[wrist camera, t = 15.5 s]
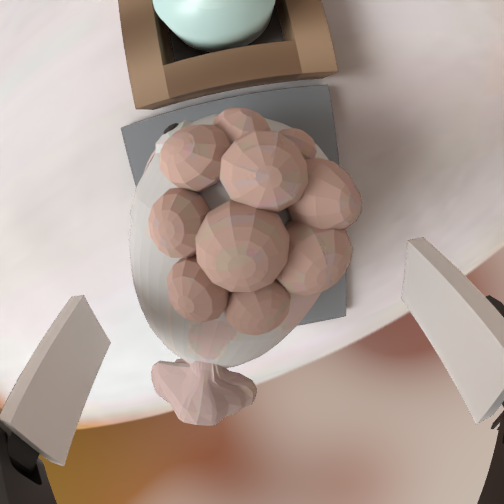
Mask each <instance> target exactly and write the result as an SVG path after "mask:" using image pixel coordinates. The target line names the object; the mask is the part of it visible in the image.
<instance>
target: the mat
mask: <svg viewBox="0 0 504 504" xmlns="http://www.w3.org/2000/svg"><path fill="white" fill-rule="evenodd" d="M230 107H241V108H248V109H251V110H253V111H255V112H257V113H259V114H260V115H261V116H262V117H263V118H267V119H270V120H273V121H277V122H280V123H283V124H285V125H287V126H289V127H291V128H297V129H301V130H303V131H304V132H306V133H307V134H308V135H309V136H311V137H312V139H313V140H314V143H315V144H317V145H318V146H319V148H320V149H321V150H322V152H323V153H324V154H325V155H326V157H327V158H328V159H329V161H333V162H335V163H336V164H337V165H339V158H338V149H337V141H336V134H335V126H334V119H333V113H332V106H331V100H330V94H329V89H328V85H318V86H306V87H296V88H287V89H279V90H272V91H265V92H258V93H252V94H246V95H241V96H235V97H230V98H225V99H220V100H216V101H211V102H207V103H202V104H198V105H194V106H190V107H186V108H183V109H179V110H175V111H172V112H168V113H165V114H161V115H158V116H155V117H151V118H148V119H145V120H142V121H139V122H136V123H133V124H130V125H127V126H124V127H122V128H121V131H122V135H123V139H124V143H125V147H126V151H127V155H128V159H129V163H130V167H131V171H132V174H133V178H134V181H135V185H136V187H137V185H138V183H139V181H140V179H141V178H142V176H143V173H144V170H145V167H146V165H147V162H148V160H149V158H150V156H151V154H152V153H153V152H154V150H155V149H156V142H157V141H158V140H159V139H160V137H161V136H162V135H163V133H164V130H165V129H166V128H167V127H168V126H169V125H172V124H174V123H178V124H179V123H181V122H183V121H185V120H186V121H191V122H193V121H196V120H199V119H201V118H204V117H207V116H210V115H213V114H220V113H221V112H223V111H224V110H226V109H228V108H230ZM344 316H346V271H345V273H344V274H343V276H342V277H341V278H340V280H339V281H338V282H337V283H336V284H334V285H333V286H332V287H330V288H329V289H327V290H325V291H322V293H321V294H320V296H319V297H318V299H317V300H316V302H315V303H314V305H313V306H312V308H311V309H310V310H309V312H308V313H307V314H306V315H305V317H304V318H303V319H302V320H301V322H300V323H299V324H298V325H303V324H309V323H314V322H320V321H325V320H330V319H335V318H339V317H344ZM298 325H297V326H298Z"/></svg>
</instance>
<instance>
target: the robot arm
mask: <svg viewBox="0 0 504 504" xmlns="http://www.w3.org/2000/svg"><path fill="white" fill-rule="evenodd" d="M401 299H402V300H403V301H404V303H405V304H406V306H407V307H408V309H409V310H410V312H411V313H412V315H413V316H414V318H415V319H416V321H417V322H418V324H419V325H420V327H421V328H422V330H423V331H424V333H425V335H426V336H427V338H428V339H429V341H430V343H431V344H432V346H433V347H434V349H435V351H436V352H437V354H438V356H439V357H440V359H441V361H442V362H443V364H444V366H445V368H446V369H447V371H448V373H449V374H450V376H451V378H452V380H453V382H454V383H455V385H456V387H457V389H458V391H459V392H460V394H461V396H462V398H463V400H464V402H465V404H466V406H467V408H468V410H469V412H470V414H471V416H472V418H473V420H474V422H475V424H476V425H477V424H478V423H480V422H482V421H483V420H485V419H487V418H488V417H490V416H492V415H493V414H494V413H495V412H496V411H497V409H498V408H499V407H500V406H501V404H502V405H503V406H504V305H503V304H502V303H501V302H500V301H498V300H496V299H495V298H493V297H491V296H490V295H489V296H486V297H485V296H484V295H483V294H482V293H481V292H480V291H479V290H478V289H477V288H476V287H475V286H474V285H473V284H472V283H471V281H470V280H469V279H468V278H466V276H465V275H464V274H463V273H462V272H461V271H459V270H458V269H457V268H456V267H455V266H454V265H453V264H452V263H451V262H450V261H449V260H448V259H447V258H446V257H445V256H444V255H443V254H442V253H440V252H439V251H438V250H437V249H436V248H435V247H434V246H433V245H432V244H431V243H429V242H428V241H427V240H426V239H425V238H424V237H422V238H417V239H412V240H407V253H406V263H405V273H404V281H403V289H402V296H401ZM110 343H111V342H110V340H109V339H108V337H107V335H106V334H105V332H104V331H103V329H102V327H101V325H100V324H99V322H98V320H97V318H96V317H95V315H94V313H93V311H92V310H91V308H90V306H89V304H88V302H87V300H86V298H85V297H84V295H81V296H74V297H71V298H70V299H69V301H68V302H67V304H66V305H65V306H64V308H63V309H62V311H61V312H60V313H59V315H58V316H57V318H56V319H55V321H54V322H53V324H52V325H51V327H50V328H49V330H48V331H47V333H46V334H45V336H44V337H43V339H42V340H41V342H40V344H39V345H38V347H37V348H36V350H35V352H34V353H33V355H32V356H31V358H30V360H29V361H28V363H27V365H26V367H25V368H24V370H23V371H22V373H21V375H20V376H19V378H18V380H17V382H16V384H15V385H14V387H13V389H12V392H11V393H10V395H9V397H8V399H7V401H6V403H5V405H4V407H3V409H2V411H1V413H0V504H57V503H56V500H55V498H54V495H53V492H52V489H51V486H50V484H49V481H48V478H47V474H46V471H45V467H44V464H43V462H42V461H41V460H40V459H39V458H38V456H39V454H41V455H42V456H43V457H45V458H46V459H47V460H49V461H51V462H53V463H56V464H59V465H62V466H64V464H65V461H66V458H67V454H68V451H69V448H70V445H71V442H72V439H73V436H74V433H75V430H76V427H77V425H78V422H79V419H80V416H81V414H82V411H83V408H84V406H85V403H86V400H87V398H88V395H89V393H90V390H91V388H92V385H93V383H94V380H95V378H96V375H97V373H98V371H99V368H100V366H101V364H102V361H103V359H104V357H105V354H106V352H107V350H108V348H109V345H110ZM499 423H500V426H499V427H498V429H497V430H499V431H498V436H497V441H496V445H495V450H494V453H493V458H492V461H491V465H490V468H489V472H488V475H487V478H486V481H485V485H484V487H483V490H482V493H481V495H480V498H479V501H478V504H504V411H503V412H502V413H501V414H500V416H499V417H498V418H497V419H496V420H495V422H494V423H493V425H492V427H491V429H494V428H495V427H496V426H497V425H498V424H499Z"/></svg>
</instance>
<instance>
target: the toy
mask: <svg viewBox="0 0 504 504" xmlns="http://www.w3.org/2000/svg"><path fill="white" fill-rule="evenodd" d="M361 209H362V201H361V196H360V193H359V191H358V190H357V188H356V186H355V184H354V182H353V180H352V179H351V177H350V175H349V174H348V173H347V172H346V171H345V170H344V169H342V168H341V167H340V166H339V165H337V164H336V163H335V162H333V161H329V159H328V158H327V157H326V155H325V154H324V153H323V152H322V150H321V149H320V148H319V146H318V145H317V144H315V143H314V140H313V139H312V137H311V136H309V135H308V134H307V133H306V132H304V131H303V130H301V129H297V128H291V127H289V126H287V125H285V124H283V123H280V122H277V121H273V120H270V119H267V118H263V117H262V116H261V115H260V114H259V113H257V112H255V111H253V110H251V109H248V108H241V107H230V108H228V109H226V110H224V111H223V112H221V113H220V114H213V115H210V116H207V117H204V118H201V119H199V120H196V121H193V122H191V121H186V120H185V121H183V122H181V123H179V124H178V123H174V124H172V125H169V126H168V127H167V128H166V129H165V130H164V133H163V135H162V136H161V137H160V139H159V140H158V141H157V142H156V149H155V150H154V152H153V153H152V154H151V156H150V158H149V160H148V162H147V165H146V167H145V170H144V173H143V176H142V178H141V179H140V181H139V183H138V185H137V187H136V189H135V193H134V197H133V202H132V206H131V211H130V214H131V228H130V237H129V248H130V262H131V269H132V276H133V282H134V286H135V290H136V293H137V297H138V300H139V303H140V306H141V309H142V311H143V313H144V315H145V317H146V320H147V322H148V324H149V326H150V328H151V329H152V330H153V332H154V333H155V334H156V335H157V337H158V338H159V339H160V340H161V341H162V342H163V344H164V345H165V346H166V347H167V348H168V349H169V350H170V351H171V352H173V353H174V354H175V355H177V356H178V357H180V358H182V359H177V360H176V361H175V363H174V362H166V361H158V362H157V363H156V364H154V365H153V367H152V371H151V374H152V382H153V385H154V388H155V391H156V393H157V394H158V395H159V396H160V397H162V398H163V399H165V400H166V401H167V402H169V403H170V404H171V406H172V408H173V409H174V411H175V413H176V415H177V416H178V418H179V419H180V420H181V421H182V422H184V423H190V424H195V425H215V424H217V423H218V422H220V421H221V420H222V419H223V418H224V417H225V416H227V415H231V414H236V413H237V412H239V411H240V410H241V409H243V408H245V407H247V406H249V405H251V404H252V403H253V401H254V399H255V397H256V393H257V389H256V386H255V384H254V383H253V381H252V380H251V379H249V378H247V377H245V376H243V375H242V374H240V373H236V372H231V371H229V370H227V369H226V368H229V367H234V366H238V365H240V364H243V363H246V362H248V361H251V360H253V359H255V358H258V357H260V356H261V355H263V354H265V353H266V352H267V351H269V350H270V349H271V348H273V347H274V346H275V345H277V344H278V343H279V342H280V341H281V340H282V339H284V338H285V337H286V336H287V335H288V334H289V333H290V332H291V331H292V330H293V329H294V328H295V327H296V326H297V325H298V324H299V323H300V322H301V320H302V319H303V318H304V317H305V315H306V314H307V313H308V312H309V310H310V309H311V308H312V306H313V305H314V303H315V302H316V300H317V299H318V297H319V296H320V294H321V293H322V291H325V290H327V289H329V288H330V287H332V286H333V285H334V284H336V283H337V282H338V281H339V280H340V278H341V277H342V276H343V274H344V273H345V271H346V270H347V268H348V267H349V264H350V260H351V256H352V251H353V248H352V245H351V243H350V240H349V238H348V235H347V233H346V231H345V229H346V228H348V227H349V226H350V225H351V224H353V223H354V222H355V221H356V220H357V219H358V217H359V215H360V214H361Z"/></svg>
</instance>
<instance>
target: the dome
mask: <svg viewBox="0 0 504 504" xmlns="http://www.w3.org/2000/svg"><path fill="white" fill-rule="evenodd" d="M275 1H276V0H153V5H154V8H155V11H156V13H157V14H158V16H159V17H160V18H161V19H162V20H163V21H164V22H165V24H166V25H167V26H168V27H169V28H170V29H171V30H172V31H173V32H174V33H175V34H176V35H177V36H178V37H179V38H180V40H182V41H183V42H184V43H186V44H187V45H189V46H191V47H193V48H195V49H199V50H202V51H208V52H217V51H222V50H227V49H233V48H238V47H243V46H245V45H247V44H249V43H251V42H252V41H254V40H255V39H256V38H258V37H259V36H260V35H261V34H262V33H263V32H264V30H265V29H266V28H267V26H268V24H269V22H270V19H271V16H272V12H273V8H274V4H275Z"/></svg>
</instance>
